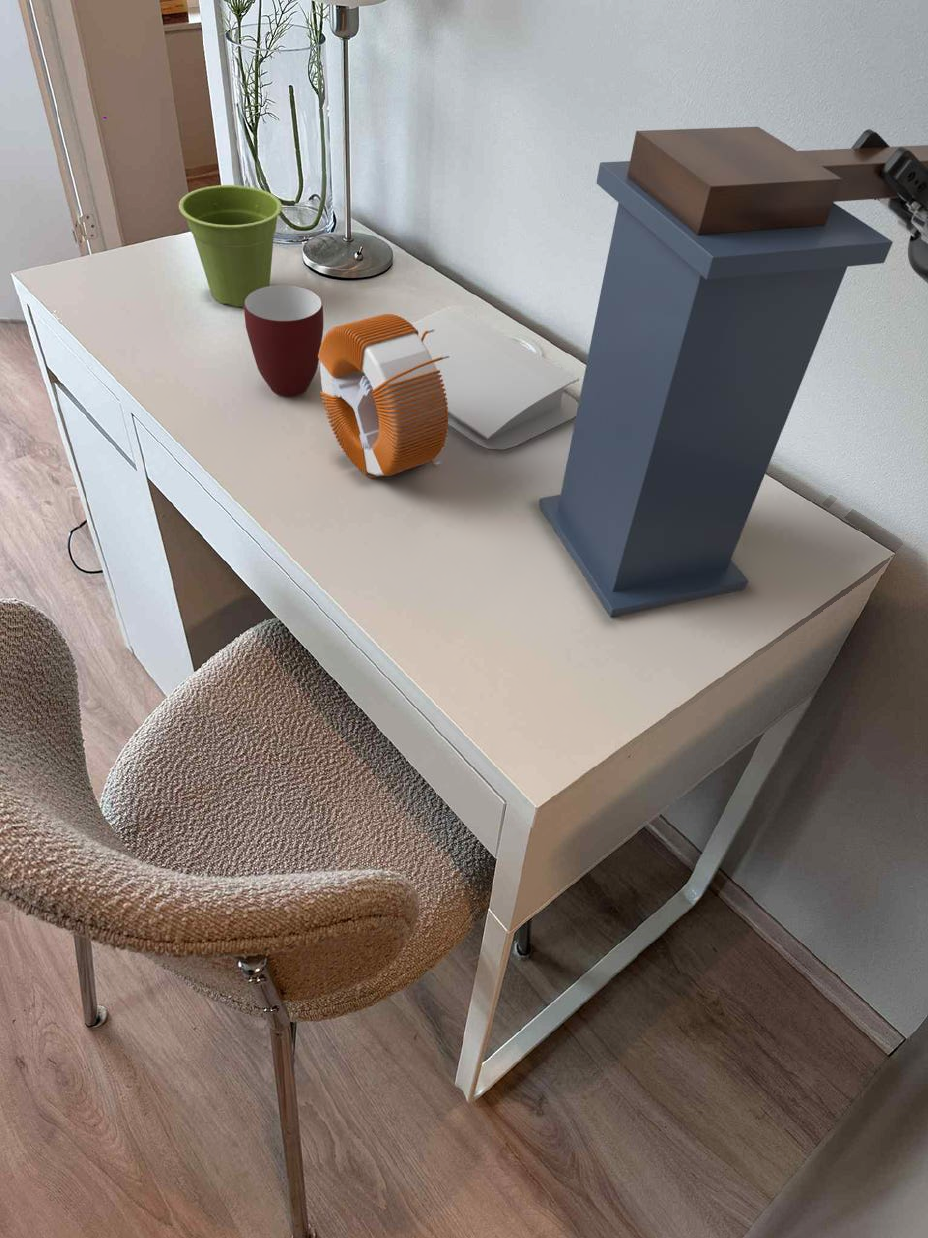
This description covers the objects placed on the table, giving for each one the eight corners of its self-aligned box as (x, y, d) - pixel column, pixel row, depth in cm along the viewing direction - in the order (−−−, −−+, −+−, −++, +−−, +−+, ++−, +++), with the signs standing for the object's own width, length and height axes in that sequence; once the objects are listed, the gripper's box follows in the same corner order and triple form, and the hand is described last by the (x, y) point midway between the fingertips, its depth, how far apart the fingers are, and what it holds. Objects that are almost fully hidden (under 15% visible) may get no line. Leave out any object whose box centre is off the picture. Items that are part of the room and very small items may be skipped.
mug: (229, 369, 100) (218, 284, 93) (292, 352, 104) (287, 269, 97) (274, 415, 95) (266, 328, 88) (339, 395, 99) (337, 310, 91)
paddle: (895, 162, 70) (911, 120, 68) (985, 213, 64) (1006, 169, 62) (626, 176, 63) (635, 130, 61) (697, 235, 57) (710, 186, 55)
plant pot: (172, 295, 111) (156, 202, 103) (240, 265, 118) (231, 176, 110) (239, 327, 107) (229, 234, 99) (307, 294, 114) (302, 205, 106)
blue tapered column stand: (661, 484, 92) (760, 154, 69) (745, 588, 82) (893, 241, 59) (538, 505, 88) (599, 161, 65) (610, 617, 77) (712, 256, 55)
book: (454, 326, 112) (457, 296, 109) (590, 409, 101) (597, 378, 98) (358, 362, 104) (357, 331, 101) (494, 456, 93) (498, 424, 90)
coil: (394, 509, 85) (398, 372, 75) (316, 431, 93) (309, 297, 83) (452, 487, 89) (464, 352, 78) (372, 413, 97) (372, 281, 86)
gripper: (955, 181, 76) (853, 69, 65) (1083, 252, 67) (989, 135, 57) (888, 259, 80) (781, 164, 69) (1001, 336, 71) (899, 241, 60)
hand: (876, 152), depth 63 cm, fingers closed on paddle, 3 cm apart
